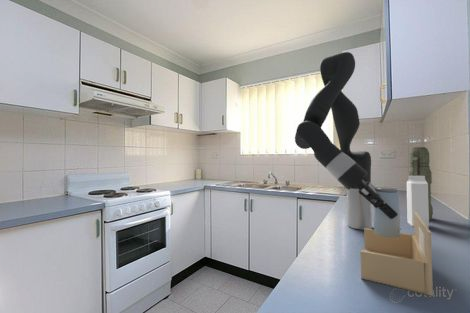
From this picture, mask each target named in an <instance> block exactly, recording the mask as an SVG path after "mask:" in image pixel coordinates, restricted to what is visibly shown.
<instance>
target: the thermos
mask: <svg viewBox="0 0 470 313" xmlns="http://www.w3.org/2000/svg"><path fill="white" fill-rule="evenodd" d="M407 173H408V177H409V176H425V180H426V182H427V183H428V204H429V221H433V214H434V213H433V212H434V210H433V209H434V208H433V205H432V192H431V190H432V187H431V185H432V182H433V181H432V180H433V179H432V178H433V176H432V174H433V173H432V170H431V167H430V152H429V149H428V148H427V147H423V146H422V147H421V146H420V147H412V148H411V149H410V151H409V170H408V172H407Z"/></svg>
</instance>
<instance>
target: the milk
mask: <svg viewBox="0 0 470 313" xmlns="http://www.w3.org/2000/svg"><path fill="white" fill-rule="evenodd" d="M406 212H407V213H406V214H407V215H406V216H407V217H406V218H407V219H406V220H407V221H406V222H407V224H409V225H410V226H411V227H414V212H417V214H418V215H419V216H420V218H421V219H422V220H423V222H424V223H425V225H426V226H427V227H428V229H429V228H430V220H429V204H428V183H427V182H426V180H425V176H409V175H408V179H407V181H406Z"/></svg>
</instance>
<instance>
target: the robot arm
mask: <svg viewBox="0 0 470 313" xmlns="http://www.w3.org/2000/svg"><path fill="white" fill-rule="evenodd" d="M355 68H356V60H355V57H354V55H353V53H351V52H349V51H347V52H346V51H345V52H341V53H338V54H334V55H330V56H328V57H327V56H326V57H324V58H323V59H322V60H321V61H320V64H319V71H320V77H321V80H322V83H323V85H324V86H323V87H322V89H320V90H319V91H318V92H317V93H316V94H315V95H314V96H313V97H312V99H311V101H310V103H309V105H308V107H307V108H306V112H305V114H304V118H303V121H301V122H300V123H299V124H298V125H297V127H296V131H295V136H294V141H295V144H296V146H297V147H299V148H300V149H302V150H303V149H304V150H308V149H311V150H312V151H313V155H314V158H315V159H316V160H317V161H318V162H319V163H320V164H321V165H322V166H323V167H324V168H325V169H326V170H327V171H328V172H329V173H330V175H331V176H333V177H334V178H335V179H336V180H337V181H338V182H339V183H340V184H341V185H342V186H343V187H344V188H345V189H346V196H347V197H346V199H347V226H348V227H349V228H352V229H355V230H363V231H364V228H367V229H373V226H372V222H373V220H372V206H373V208H374V207H376V208H378V209H380V210H381V211H382V212H384V213H385V214H386V215H387V216H388V217H389V218H390V219H393V218H395V217H396V216H397V215H398V214H397V212H396V211H394V210H393V209H392V208H391V207H390V206H389V205H388V204H387V203H386V202H385V201H384V200H383V199H382V198H381V197H380V194H379V193H378V192H377V191H376V190H375V188H376V187H375V186H374V185H373V183H372V182H371V181H372V180H371V178H372V177H371V176H372V174H371V173H372V156H371V153H370V152H369V151H351V144H352V141H353V139H354V137H355V136H356V134H357V132H358V130H359V128H360V123H361V122H360V116H359V111H358V108H357V107H356V105H355V104H354V103H353V101H351V100H350V99H349V97H347V96H346V94H344V92H343V91H342V90H343V89H344V88H345V86H346V85H347V84H348V82H349V81H350V79H351V78H352V75H354V72H355ZM330 111H331V113H332V118H333V122H334V127H335V131H336V134H337V140H338V143H339V144H338V145H339V147H338V146H337V145H335V144H334V143H333V142H332V141H331V139H330V137H329V136H328V135H327V133H326V132H324V130H323V129H322V126H323V124H324V123H325V121H326V120H327V117H328V115H329V113H330ZM376 199H378V201H377V202H376V203H375V200H376Z"/></svg>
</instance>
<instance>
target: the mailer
mask: <svg viewBox="0 0 470 313" xmlns="http://www.w3.org/2000/svg"><path fill="white" fill-rule="evenodd" d="M363 231H364V232H363V233H364V234H363V235H364V236H363V237H364V250H360V276H361V278H362V279H361V278H360V279H361V280H363V279H366V280H365V281H368V280H370V281H369V282H372V281H374V283H376V282H379V283H378V284H380V283H383V284H382V285H384V284H387V285H386V286H389V285H391V286H390V287H393V286H395V287H394V288H397V287H398V289H401V288H402V289H401V290H406V291H410V292H415V293H419V294H422V295H428V296H431V297H433V296H434V294H433V292H434V289H433V287H434V286H433V283H434V282H433V281H434V280H433V254H432V253H433V252H432V251H433V250H432V248H433V247H432V246H433V245H432V231H431V230H430V229H429V228H428V227H427V226H426V225H425V223H424V222H423V220H422V219H421V218H420V216H419V215H418V214H417V212H414V226H413V231H414V232H413V234H411V233H403V232H400V237H398V238H389V237H383V236H379V235H377V234H375V233H374V229H373V228H371V229H367V228H364V230H363Z"/></svg>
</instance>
